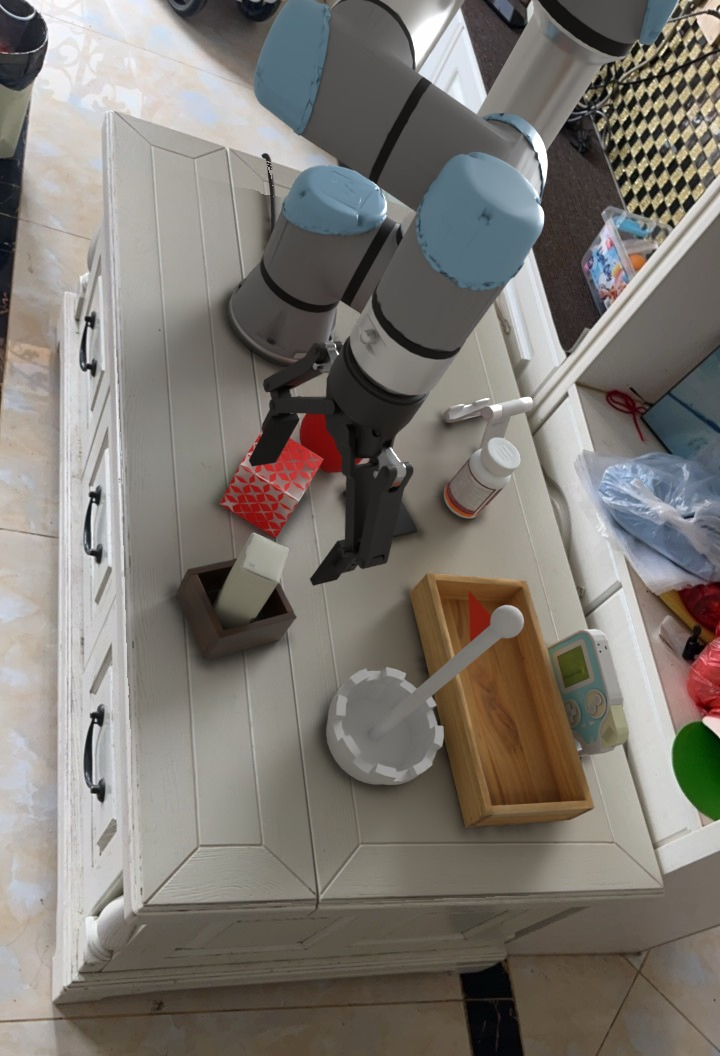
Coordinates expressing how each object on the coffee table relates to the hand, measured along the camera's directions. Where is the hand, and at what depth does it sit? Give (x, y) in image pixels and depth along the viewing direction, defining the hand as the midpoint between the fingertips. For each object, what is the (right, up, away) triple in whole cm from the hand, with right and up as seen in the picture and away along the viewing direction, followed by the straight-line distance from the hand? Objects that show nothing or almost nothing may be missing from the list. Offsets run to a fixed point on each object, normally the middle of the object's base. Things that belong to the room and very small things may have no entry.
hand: (292, 519), depth 83 cm
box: (-9, -9, +16) cm, 20 cm away
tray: (+22, -20, +26) cm, 39 cm away
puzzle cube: (-6, +6, +26) cm, 27 cm away
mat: (+9, +5, +33) cm, 35 cm away
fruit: (+1, +13, +34) cm, 36 cm away
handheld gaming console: (+32, -20, +31) cm, 49 cm away
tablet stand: (+24, +20, +49) cm, 58 cm away
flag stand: (+8, -23, +17) cm, 29 cm away
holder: (-8, -9, +16) cm, 20 cm away
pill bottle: (+21, +8, +41) cm, 46 cm away
